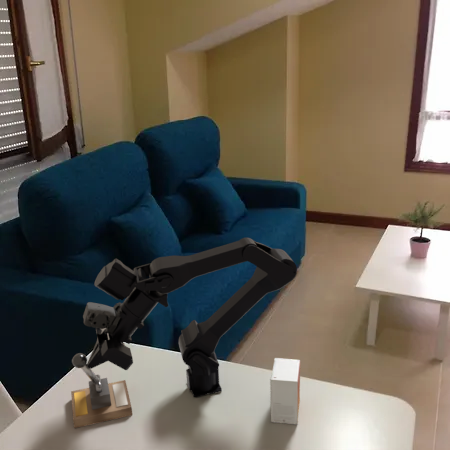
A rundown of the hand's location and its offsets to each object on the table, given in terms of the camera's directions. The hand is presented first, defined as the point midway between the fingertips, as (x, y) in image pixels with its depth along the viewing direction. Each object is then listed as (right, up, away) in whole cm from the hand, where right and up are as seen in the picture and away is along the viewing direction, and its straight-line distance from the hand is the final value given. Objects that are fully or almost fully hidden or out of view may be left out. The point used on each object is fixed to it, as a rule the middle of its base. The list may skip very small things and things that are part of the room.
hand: (88, 366), depth 114 cm
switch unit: (+2, -10, +4) cm, 11 cm away
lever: (+2, -4, +2) cm, 5 cm away
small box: (+42, -10, 0) cm, 43 cm away
